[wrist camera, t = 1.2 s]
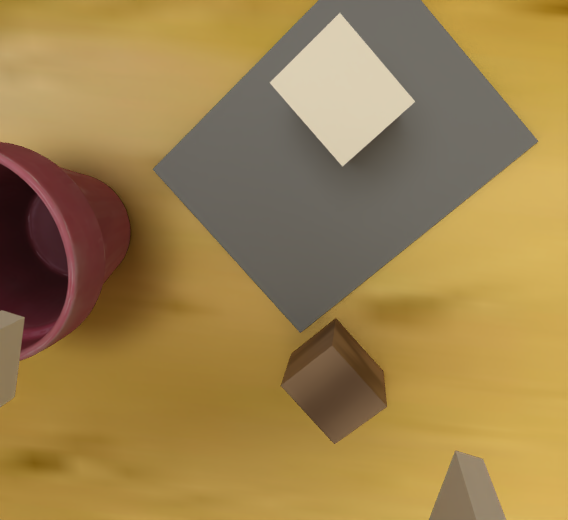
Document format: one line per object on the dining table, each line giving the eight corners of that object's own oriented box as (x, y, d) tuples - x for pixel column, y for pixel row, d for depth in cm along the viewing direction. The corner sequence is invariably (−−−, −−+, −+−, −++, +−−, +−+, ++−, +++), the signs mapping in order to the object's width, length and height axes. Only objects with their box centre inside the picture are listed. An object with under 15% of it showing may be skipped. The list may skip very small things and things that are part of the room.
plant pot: (-20, 246, 45) (-165, 283, 32) (46, 108, 41) (-89, 91, 29) (112, 336, 45) (17, 408, 32) (190, 206, 41) (117, 231, 29)
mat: (154, 169, 41) (152, 169, 40) (373, -54, 35) (373, -56, 35) (300, 331, 42) (300, 332, 42) (536, 141, 36) (538, 141, 36)
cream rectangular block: (295, 101, 38) (269, 82, 27) (345, 52, 36) (339, 12, 26) (347, 161, 38) (342, 166, 27) (399, 115, 37) (415, 101, 26)
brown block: (291, 353, 43) (280, 385, 37) (335, 318, 41) (332, 345, 36) (337, 404, 43) (334, 444, 37) (383, 371, 42) (386, 406, 36)
